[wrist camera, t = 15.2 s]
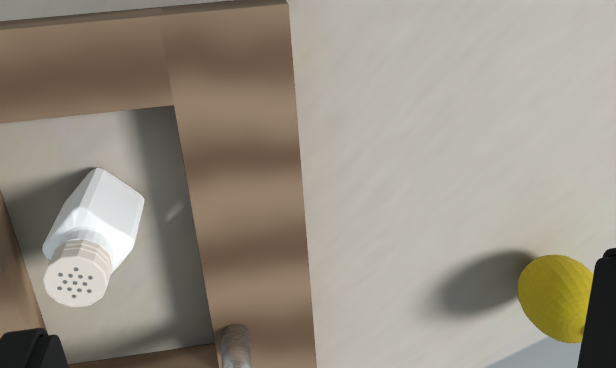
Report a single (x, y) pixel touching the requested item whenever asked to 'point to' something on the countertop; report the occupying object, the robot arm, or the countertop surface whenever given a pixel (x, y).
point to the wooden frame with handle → (186, 154)
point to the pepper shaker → (90, 238)
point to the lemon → (556, 296)
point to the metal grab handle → (236, 347)
